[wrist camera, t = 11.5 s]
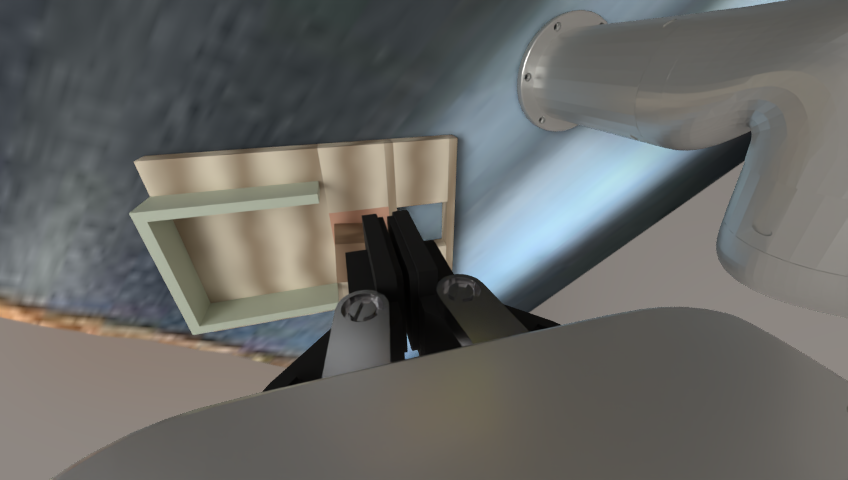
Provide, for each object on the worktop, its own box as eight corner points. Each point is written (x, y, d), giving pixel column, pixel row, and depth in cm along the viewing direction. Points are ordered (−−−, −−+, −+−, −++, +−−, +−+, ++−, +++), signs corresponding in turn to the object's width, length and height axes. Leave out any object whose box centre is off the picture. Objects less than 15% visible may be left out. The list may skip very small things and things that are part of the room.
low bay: (318, 180, 35) (317, 194, 32) (338, 288, 42) (339, 308, 39) (150, 196, 31) (128, 213, 28) (204, 310, 39) (192, 334, 36)
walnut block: (376, 222, 39) (382, 242, 35) (375, 256, 41) (381, 279, 37) (334, 223, 38) (334, 244, 34) (335, 259, 40) (336, 282, 36)
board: (451, 134, 38) (457, 138, 37) (447, 281, 49) (451, 289, 48) (143, 156, 31) (133, 161, 30) (218, 320, 42) (214, 331, 41)
